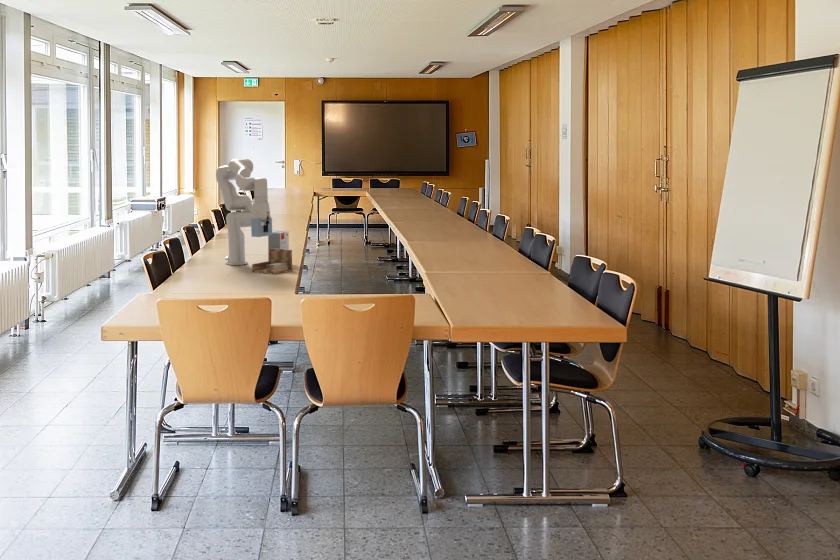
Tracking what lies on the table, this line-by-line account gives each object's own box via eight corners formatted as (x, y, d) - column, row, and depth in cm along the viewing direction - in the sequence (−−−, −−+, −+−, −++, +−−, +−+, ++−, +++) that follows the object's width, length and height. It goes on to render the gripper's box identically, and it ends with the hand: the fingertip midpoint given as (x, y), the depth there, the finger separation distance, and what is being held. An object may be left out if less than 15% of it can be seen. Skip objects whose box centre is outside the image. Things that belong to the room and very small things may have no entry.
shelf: (252, 271, 500) (251, 251, 498) (270, 268, 513) (270, 248, 511) (274, 274, 492) (274, 253, 490) (292, 270, 506) (291, 249, 504)
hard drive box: (280, 267, 520) (279, 233, 516) (268, 266, 521) (267, 233, 518) (289, 263, 535) (288, 230, 531) (277, 262, 536) (276, 230, 533)
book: (251, 236, 497) (250, 219, 495) (265, 234, 507) (265, 217, 505) (258, 237, 494) (257, 219, 492) (272, 235, 504) (271, 217, 503)
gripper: (245, 199, 498) (246, 231, 501) (268, 200, 490) (269, 233, 493) (254, 199, 505) (255, 230, 508) (276, 200, 496) (277, 231, 499)
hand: (262, 231), depth 500 cm, fingers closed on book, 5 cm apart
